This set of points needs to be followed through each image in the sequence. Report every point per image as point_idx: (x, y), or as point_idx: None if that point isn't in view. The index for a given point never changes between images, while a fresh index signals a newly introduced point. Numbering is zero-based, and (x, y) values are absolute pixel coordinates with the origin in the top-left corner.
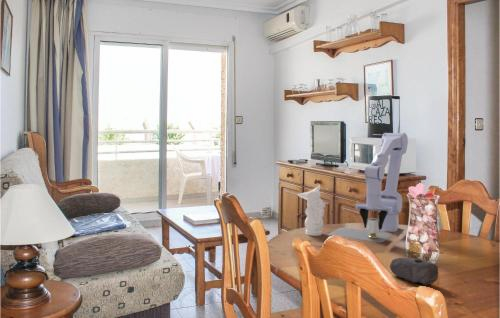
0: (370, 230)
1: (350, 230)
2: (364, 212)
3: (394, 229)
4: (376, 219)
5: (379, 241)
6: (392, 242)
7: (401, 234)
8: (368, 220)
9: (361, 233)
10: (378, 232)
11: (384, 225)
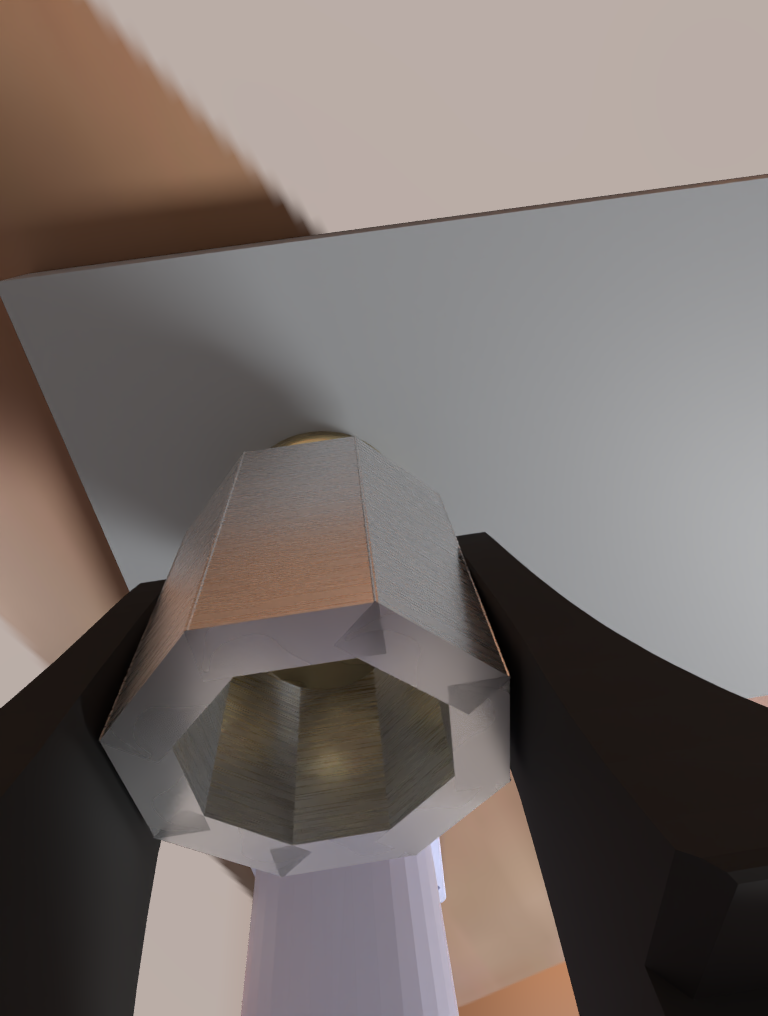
0: (316, 464)
1: (723, 633)
2: (686, 845)
3: (259, 884)
4: (289, 829)
5: (85, 314)
6: (85, 573)
7: (222, 863)
8: (392, 603)
9: None
10: (189, 533)
11: (360, 892)
